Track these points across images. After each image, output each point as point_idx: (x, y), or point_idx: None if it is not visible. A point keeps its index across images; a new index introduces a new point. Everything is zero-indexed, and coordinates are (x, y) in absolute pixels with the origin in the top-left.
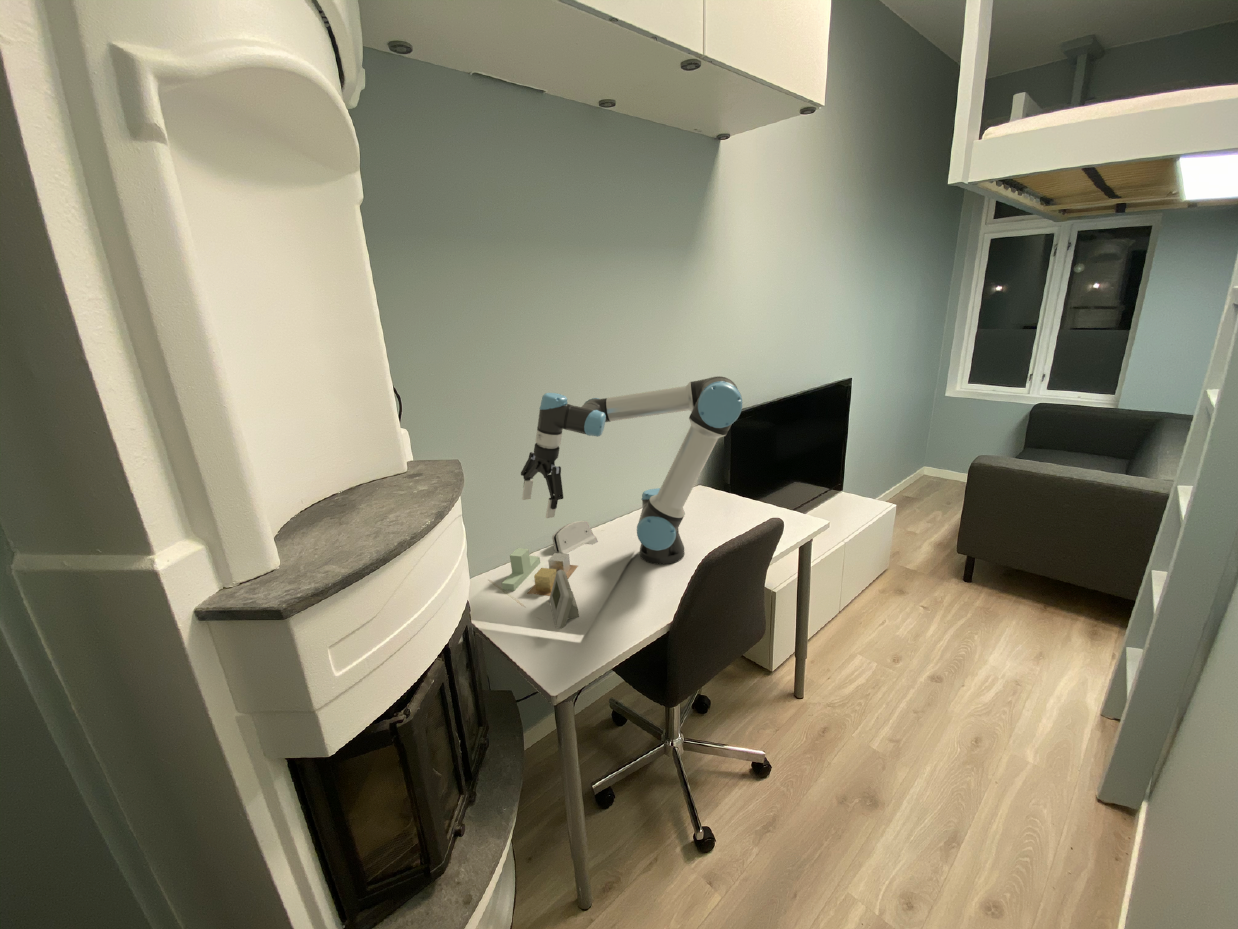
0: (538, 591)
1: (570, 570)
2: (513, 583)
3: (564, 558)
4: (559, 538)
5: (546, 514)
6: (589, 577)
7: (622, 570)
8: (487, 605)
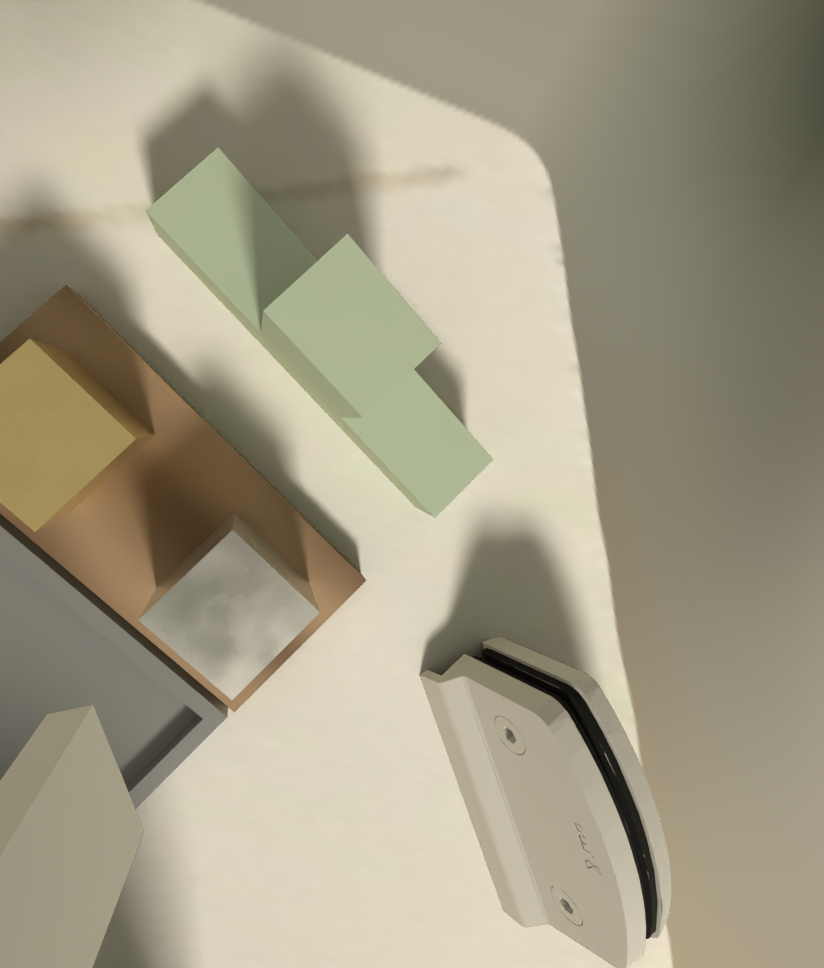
0: None
1: None
2: (157, 214)
3: (180, 648)
4: (527, 716)
5: (49, 752)
6: None
7: None
8: (137, 34)
